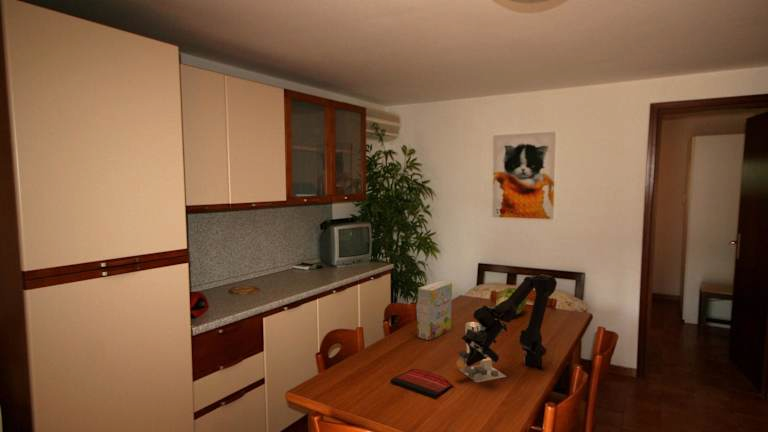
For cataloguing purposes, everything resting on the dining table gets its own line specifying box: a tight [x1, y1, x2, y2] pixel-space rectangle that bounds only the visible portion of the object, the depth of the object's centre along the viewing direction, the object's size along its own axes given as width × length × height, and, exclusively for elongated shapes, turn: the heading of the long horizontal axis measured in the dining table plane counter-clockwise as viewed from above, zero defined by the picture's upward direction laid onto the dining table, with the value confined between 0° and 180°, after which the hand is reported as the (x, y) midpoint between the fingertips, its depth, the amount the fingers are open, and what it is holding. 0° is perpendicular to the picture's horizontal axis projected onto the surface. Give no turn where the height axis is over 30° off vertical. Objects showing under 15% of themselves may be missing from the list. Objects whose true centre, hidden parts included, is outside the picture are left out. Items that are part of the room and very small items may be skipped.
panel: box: [457, 364, 507, 383], centre depth 177 cm, size 14×14×4 cm
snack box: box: [416, 280, 453, 341], centre depth 225 cm, size 22×9×26 cm, turn 143°
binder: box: [390, 368, 454, 400], centre depth 170 cm, size 16×2×21 cm
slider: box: [479, 356, 493, 370], centre depth 180 cm, size 4×2×4 cm, turn 111°
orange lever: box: [455, 358, 477, 377], centre depth 171 cm, size 2×3×10 cm
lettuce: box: [495, 287, 527, 316], centre depth 255 cm, size 15×27×16 cm, turn 144°
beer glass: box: [464, 321, 481, 353], centre depth 195 cm, size 7×7×15 cm
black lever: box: [458, 350, 469, 364], centre depth 179 cm, size 2×3×7 cm
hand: (467, 365), depth 170 cm, fingers closed, pressing on orange lever
